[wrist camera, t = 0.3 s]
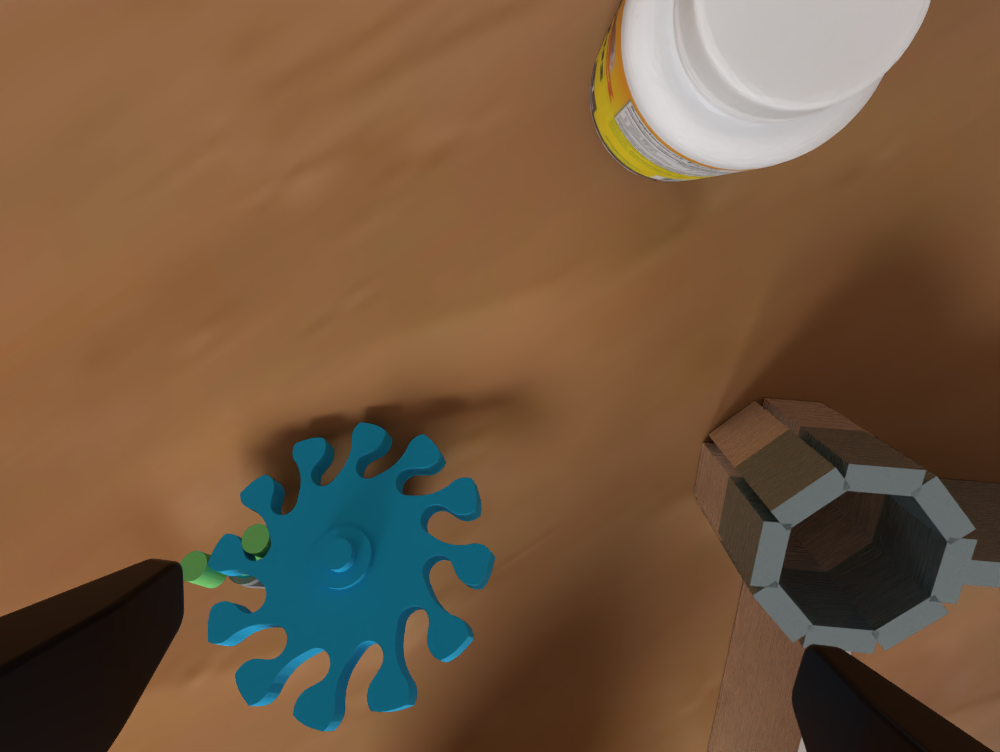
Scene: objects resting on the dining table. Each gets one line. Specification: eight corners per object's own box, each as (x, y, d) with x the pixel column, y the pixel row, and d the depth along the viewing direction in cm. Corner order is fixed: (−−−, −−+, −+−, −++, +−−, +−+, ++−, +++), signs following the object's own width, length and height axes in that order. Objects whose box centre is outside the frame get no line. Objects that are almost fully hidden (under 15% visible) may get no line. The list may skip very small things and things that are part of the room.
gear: (499, 415, 21) (469, 748, 16) (521, 473, 26) (504, 740, 21) (218, 415, 23) (117, 710, 18) (289, 469, 28) (226, 712, 23)
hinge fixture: (1047, 810, 27) (1191, 975, 21) (644, 773, 27) (677, 925, 21) (1204, 434, 22) (1448, 514, 16) (711, 393, 22) (777, 457, 16)
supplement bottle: (670, -43, 19) (835, -328, 9) (794, 83, 19) (1072, -48, 10) (550, 106, 20) (576, 3, 10) (671, 219, 21) (804, 226, 11)
